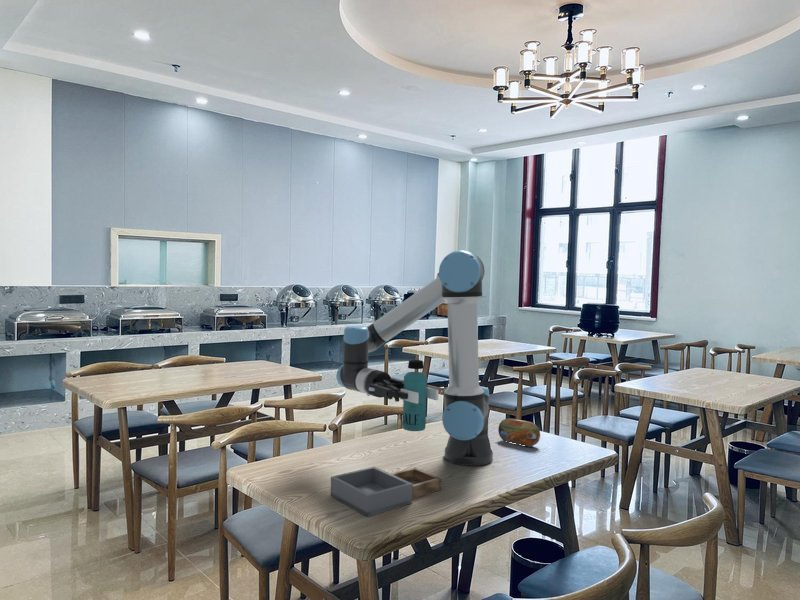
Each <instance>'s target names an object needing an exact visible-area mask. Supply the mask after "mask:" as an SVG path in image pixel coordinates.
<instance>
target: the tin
mask: <svg viewBox="0 0 800 600" xmlns="http://www.w3.org/2000/svg"><path fill="white" fill-rule="evenodd" d="M540 431H541V430H540V428H539V427H538V426H537V424H535V422H532V421H527V420H520V419H517V418H505V419H502V421H500V423H499V425H498V435H499V438H500V439H501V440H502V441H503V442H505V441H507V442H512V443H516V444H521V445H525V446H529V447H528V448H531V447H533V446H535V445H537V444H538V443H539V441H540V439H541V432H540ZM507 442H506V443H507Z"/></svg>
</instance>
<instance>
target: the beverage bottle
mask: <svg viewBox="0 0 800 600" xmlns="http://www.w3.org/2000/svg"><path fill="white" fill-rule="evenodd" d="M407 368H408V369H411V370H422V369H424V361H423V360H421V359H409V360H408V366H407ZM427 379H428V377H427V375H426V374H425V373H424V372H421V371H408V372H407V373H406V374H404V376H403V380H404V389H406V390H410V391H413V392H417V393H419V402H418V403H417V404H416V403H412V402H409V401H405V400H402V409H403V410H402V416H401V417H402V429H403V430H404V431H408V432H421V431H424V430H425V429H426V423H427V422H426V418H427V398H426V385H427V386H428V383H427Z"/></svg>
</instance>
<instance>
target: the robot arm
mask: <svg viewBox="0 0 800 600" xmlns="http://www.w3.org/2000/svg"><path fill="white" fill-rule="evenodd" d="M484 276H485V265H484V262H483V261H482V260H481V258H480V257H479V256H478V255H476V254H475V253H472V252H471V251H469V250H462V249H460V250H455V251H452V252H450V253H448V254H447V255H446V256H444V258H443V259H442V260H441V262H440V264H439V268H438V273H437V274H436V277H435V279H433V280H431V282H429V283H428V284H427V285H424V286H423V287H422V288H421V289H419V290H417V291H416V292H415V293H413V294H412V295H410V296H409V297H408V298H407V299H404V300H403V301H402V302H401V303H399V304H398V305H396V306H395V307H394V308H392V309H391V310H389V311H388V312H387V313H386V314H383V315H382V316H381V317H379V318H378V319H376V320H375V321H374V322H373V323H371V324H370V325H368V326H364V325H348V326H346V327H345V328H344V330H343V338H342V339H343V362H342V364H341V365H340V366H339V367H338V370H337V372H336V380H337V383H338V384H339V385H340V386H341V387H342V388H343V387H344V388H346V389H347V390H350V391H355V392H360V393H362V394H366V396H367V397H369V396H372V397H375V398H384V399H388V400H393V399H394V401H395V402H396V403H397V402H400V400H402V401H403V400H405V401H409V402H412V403H416V404H417V403H418V402H419V393H417V392H413V391H410V390H406V389H404V379H403V380H398V379H396V378H392V377H391V376H390V374H389V373H388V372H386V371H383V370H378V369H374V368H369V365H368V364H369V353H372V352H373V353H374V352H375V351H377V350H378V349H380V348H381V346H383V345H384V344H386V343H387V342H389V340H391V339H393V338H395V337H396V336H397V335H398V334H400V333H402V332H403V331H404V330H406V329H407V328H409V327H410V326H411V325H413V324H414V323H417V321H419V320H420V319H421V318H422V317H424V316H426V315H427V314H429V313H431V312H432V311H434V310H435V309H436V308H437V307H440V305H441V304H443V303H446V305H447V337H448V339H447V341H448V342H447V343H448V346H447V347H448V386H447V387H446V388H445V389H444V393H443V395H444V400H443V401H444V410H443V412H442V416H441V417H442V418H441V419H442V426H443V428H444V430H445V432H446V433H447V434H448V435H449V438H448V440H447V444H446V446H445V448H444V458H445V460H446V461H448V462H451V463H453V464H457V465H463V466H484V465H487V464H490V463H492V461H493V457H494V453H493V449H492V448H491V442H490V439H489V414H490V413H489V412H490V411H489V410H490V409H489V408H490V406H489V405H490V391H489V388H488V387H485V386H480V377H479V375H480V374H479V371H480V370H479V337H478V336H479V335H478V334H479V327H478V325H479V323H478V303H479V302H480V300H481V299H482V298H483V279H484ZM426 399H430V400H433V401H439V389H436V388H432V387H428V384H427V385H426Z"/></svg>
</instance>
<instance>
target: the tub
mask: <svg viewBox="0 0 800 600" xmlns="http://www.w3.org/2000/svg"><path fill="white" fill-rule="evenodd" d="M413 485H414V484H413V483H412V482H410V481H406V480H403V479H401V478H399V477H397V476H394V475H392V474H391V473H390V472H387V471H386V470H383V469H381V468H379V467H377V466H371V467H367V468H362V469H358V470H352V471H351V472H350V471H349V472H346V473H345V472H344V473H341V474H338V475H333V476H332V475H331V476H330V494H329V495H330V497H331V498H334V500H337V501H339V502H341V503H342V504H343V505H346V506H347V507H349V508H350V509H353V510H354V511H356V512H358V513H359V514H360V515H363V516H365V517H366V518H369V517H371V516H374V515H378V514H381V513H384V512H388V511H391V509H392V510H394V508H395V509H397V507H398V508H401V507H405V506H407V505H411V504H412V503H413V498H412V487H413Z"/></svg>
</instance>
